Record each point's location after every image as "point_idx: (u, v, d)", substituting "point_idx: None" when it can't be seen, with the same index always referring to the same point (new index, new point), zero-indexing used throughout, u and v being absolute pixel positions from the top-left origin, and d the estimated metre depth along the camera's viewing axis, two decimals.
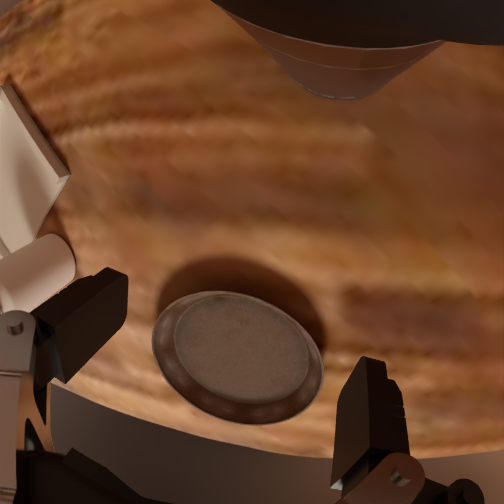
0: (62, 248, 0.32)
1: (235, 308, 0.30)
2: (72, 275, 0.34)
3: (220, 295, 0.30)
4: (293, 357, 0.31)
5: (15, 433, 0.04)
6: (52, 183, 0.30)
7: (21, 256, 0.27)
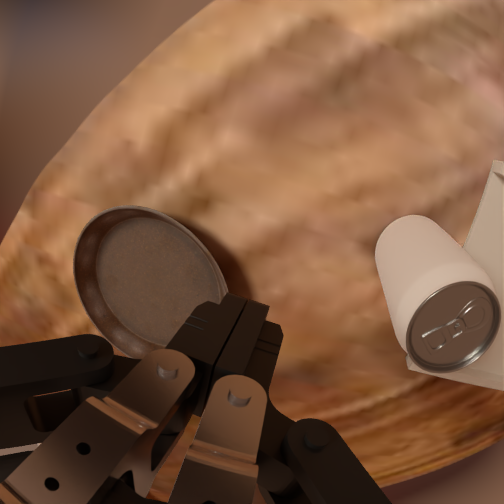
0: None
1: None
2: (375, 254, 0.25)
3: None
4: (126, 313, 0.34)
5: (98, 487, 0.03)
6: None
7: None
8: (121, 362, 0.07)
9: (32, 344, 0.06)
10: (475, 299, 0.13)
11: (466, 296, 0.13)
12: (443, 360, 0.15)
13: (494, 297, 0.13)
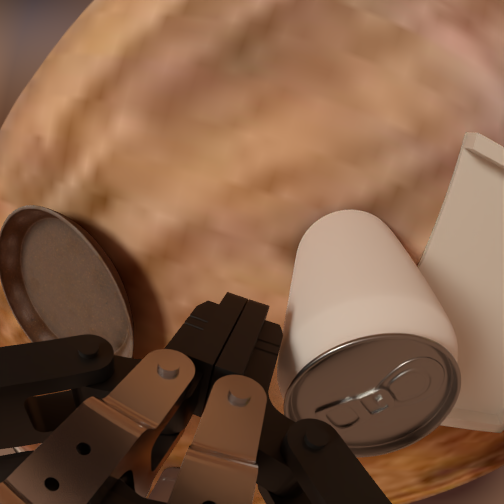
0: None
1: None
2: None
3: (120, 351, 0.27)
4: (50, 318, 0.29)
5: (98, 487, 0.03)
6: None
7: None
8: (121, 362, 0.07)
9: (32, 344, 0.06)
10: (412, 360, 0.08)
11: (394, 356, 0.08)
12: (359, 440, 0.09)
13: (449, 358, 0.07)
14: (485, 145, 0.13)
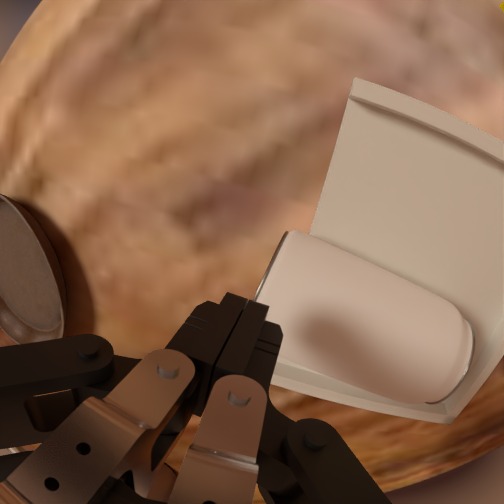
0: None
1: (49, 315, 0.28)
2: None
3: (60, 323, 0.28)
4: (8, 296, 0.29)
5: (98, 487, 0.03)
6: None
7: None
8: (121, 362, 0.07)
9: (32, 344, 0.06)
10: None
11: None
12: None
13: (469, 323, 0.15)
14: (366, 89, 0.14)
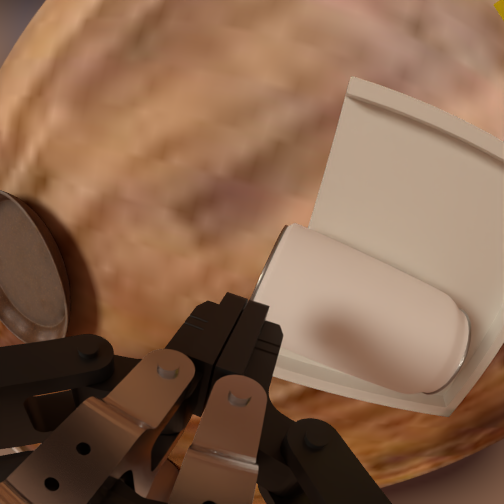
0: None
1: (53, 311, 0.29)
2: None
3: (64, 319, 0.28)
4: (12, 293, 0.30)
5: (98, 487, 0.03)
6: None
7: None
8: (121, 362, 0.07)
9: (32, 344, 0.06)
10: None
11: None
12: None
13: None
14: (362, 87, 0.15)
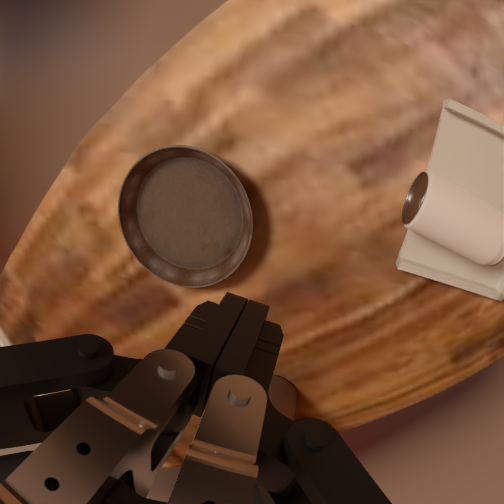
0: None
1: (215, 252, 0.41)
2: (418, 225, 0.28)
3: (229, 256, 0.40)
4: (161, 243, 0.42)
5: (98, 487, 0.03)
6: (413, 246, 0.34)
7: None
8: (121, 362, 0.07)
9: (32, 344, 0.06)
10: None
11: None
12: None
13: None
14: (454, 105, 0.26)
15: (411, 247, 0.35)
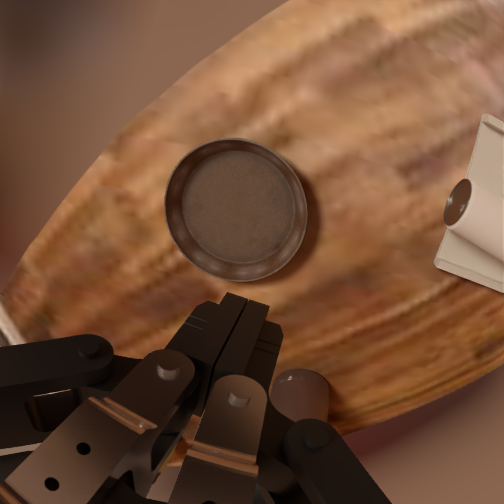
0: None
1: (263, 246, 0.41)
2: (461, 227, 0.29)
3: (277, 251, 0.41)
4: (206, 236, 0.42)
5: (98, 487, 0.03)
6: (450, 247, 0.35)
7: None
8: (121, 362, 0.07)
9: (32, 344, 0.06)
10: None
11: None
12: None
13: None
14: (492, 119, 0.27)
15: (448, 248, 0.35)
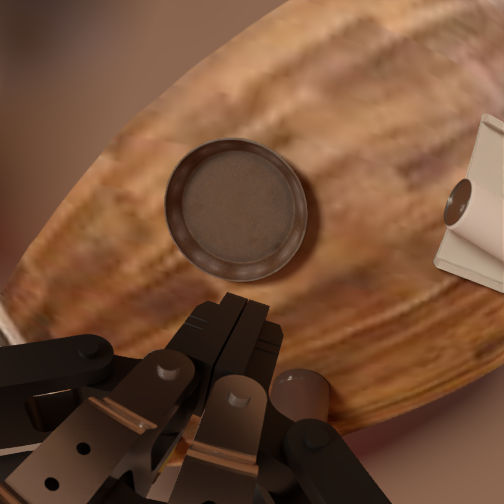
0: None
1: (263, 246, 0.41)
2: (461, 227, 0.29)
3: (277, 251, 0.41)
4: (206, 236, 0.42)
5: (98, 487, 0.03)
6: (450, 247, 0.35)
7: None
8: (121, 362, 0.07)
9: (32, 344, 0.06)
10: None
11: None
12: None
13: None
14: (492, 119, 0.27)
15: (448, 248, 0.35)
